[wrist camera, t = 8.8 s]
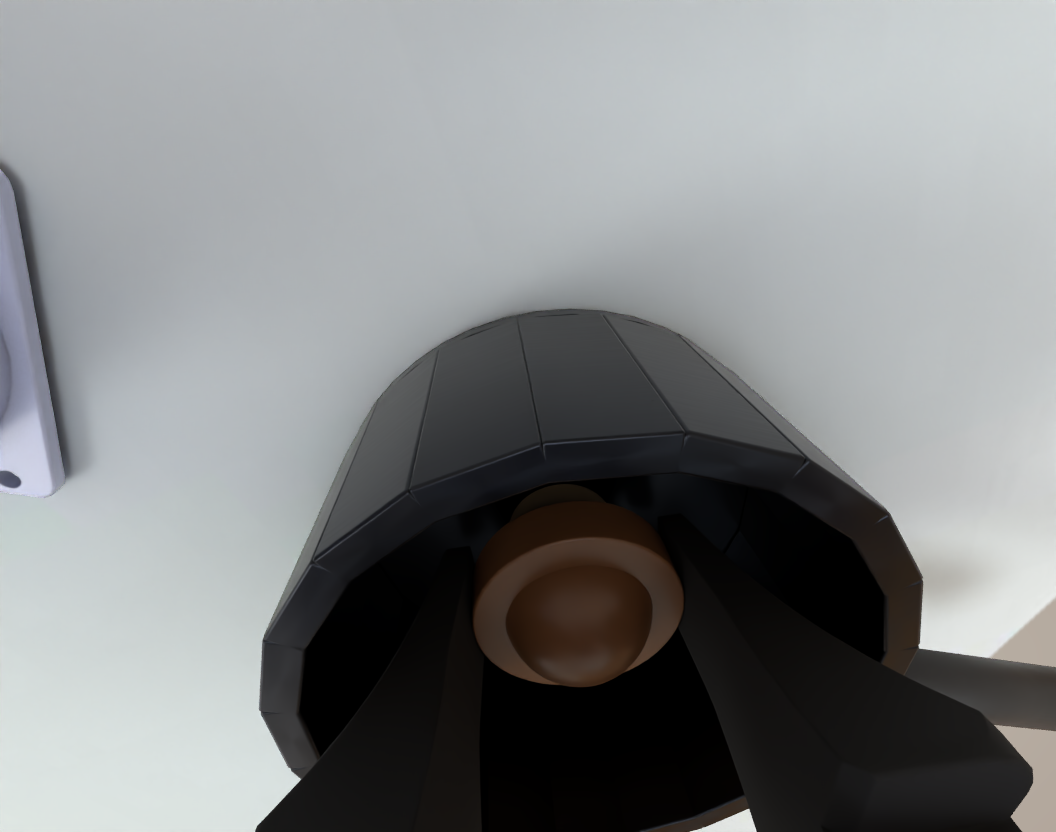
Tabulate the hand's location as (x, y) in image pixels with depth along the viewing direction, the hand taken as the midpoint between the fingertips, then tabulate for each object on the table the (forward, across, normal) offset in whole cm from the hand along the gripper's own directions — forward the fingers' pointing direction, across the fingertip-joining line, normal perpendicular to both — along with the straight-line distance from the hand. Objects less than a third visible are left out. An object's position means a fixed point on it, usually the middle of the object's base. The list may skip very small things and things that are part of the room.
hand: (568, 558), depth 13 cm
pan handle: (-2, -10, +4) cm, 11 cm away
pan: (+2, 0, 0) cm, 2 cm away
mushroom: (+1, 0, 0) cm, 1 cm away
